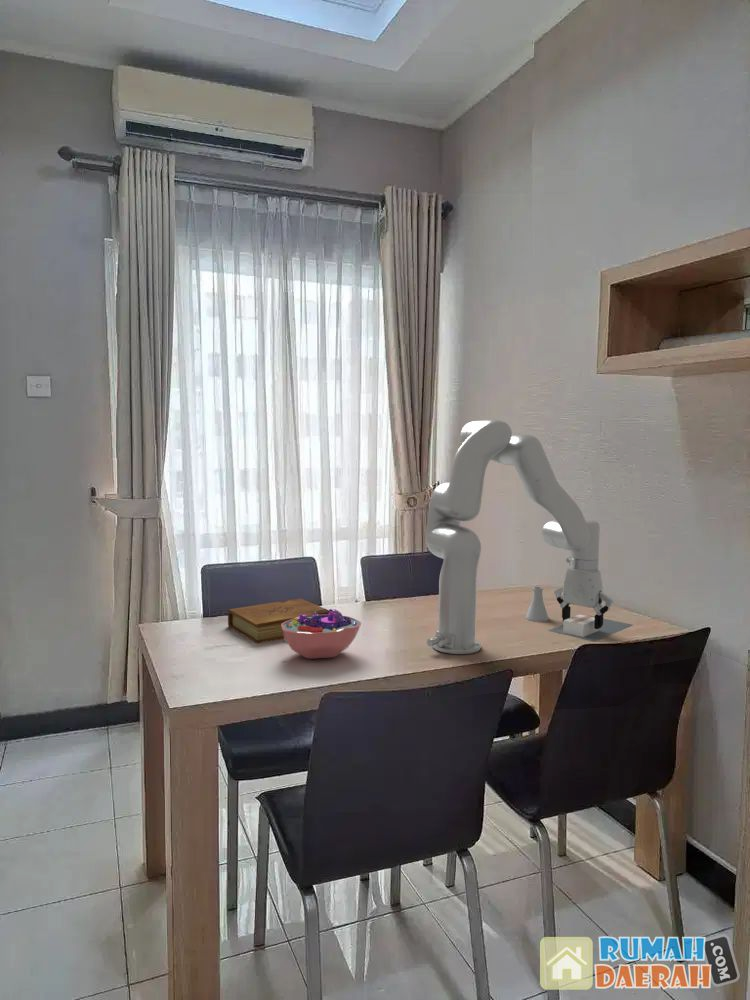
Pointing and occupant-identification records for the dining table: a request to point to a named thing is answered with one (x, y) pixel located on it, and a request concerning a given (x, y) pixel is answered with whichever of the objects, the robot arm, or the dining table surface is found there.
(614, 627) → the mat
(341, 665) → the dining table surface
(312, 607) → the diary
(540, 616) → the flask
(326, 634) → the cell model
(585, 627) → the card deck
